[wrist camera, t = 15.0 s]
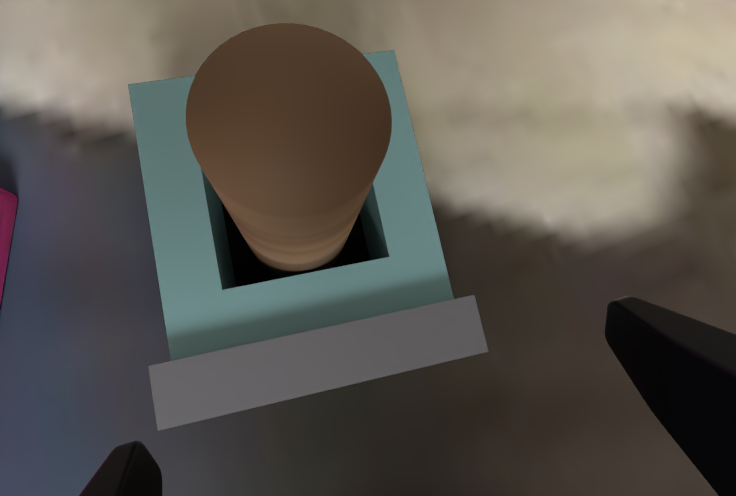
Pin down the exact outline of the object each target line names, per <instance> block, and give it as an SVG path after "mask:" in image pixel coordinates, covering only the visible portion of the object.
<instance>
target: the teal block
mask: <svg viewBox="0 0 736 496" xmlns="http://www.w3.org/2000/svg"><path fill="white" fill-rule="evenodd" d="M362 55H363V56H364V57H365V58H366V59H367V60H368V61H369V62H370V63H371V65H372V66H373V68H374V69H375V70H376V72H377V73H378V75H379V77H380V79H381V81H382V82H383V84H384V87H385V89H386V92H387V95H388V98H389V102H390V107H391V115H392V131H391V138H390V143H389V147H388V150H387V153H386V156H385V158H384V160H383V162H382V165H381V167H380V169H379V171H378V173H377V175H376V178H375V180H374V182H373V184H372V186H371V188H370V191H369V193H368V195H367V197H366V199H365V201H364V204H363V206H362V208H361V210H360V212H359V213H360V218H361V222H362V227H363V232H364V236H365V241H366V245H367V250H368V254H369V259H370V261H366V262H361V263H356V264H351V265H345V266H340V267H335V268H330V269H325V270H320V271H315V272H310V273H305V274H300V275H295V276H290V277H285V278H280V279H275V280H270V281H265V282H260V283H255V284H250V285H245V286H240V287H236V282H235V276H234V270H233V265H232V259H231V253H230V248H229V242H228V237H227V231H226V225H225V220H224V214H223V208H222V203H221V199H220V198H219V196H218V194H217V193H216V191H215V190H214V188H213V186H212V185H211V183H210V181H209V180H208V178H207V176H206V175H205V173H204V171H203V170H202V168H201V167H200V165H199V163H198V161H197V159H196V157H195V155H194V153H193V151H192V148H191V145H190V142H189V139H188V134H187V128H186V104H187V98H188V94H189V91H190V87H191V85H192V82H193V80H194V78H195V76H189V77H181V78H174V79H166V80H158V81H150V82H143V83H135V84H128V87H129V93H130V100H131V106H132V112H133V119H134V125H135V132H136V138H137V145H138V151H139V158H140V164H141V170H142V177H143V183H144V190H145V196H146V203H147V209H148V216H149V222H150V228H151V235H152V241H153V248H154V254H155V261H156V267H157V274H158V280H159V286H160V293H161V299H162V306H163V312H164V319H165V325H166V332H167V338H168V344H169V351H170V357H171V361H174V360H178V359H183V358H187V357H192V356H196V355H201V354H206V353H210V352H215V351H219V350H224V349H229V348H233V347H238V346H242V345H247V344H251V343H256V342H261V341H265V340H270V339H274V338H279V337H284V336H288V335H293V334H297V333H302V332H306V331H311V330H316V329H320V328H325V327H329V326H334V325H338V324H343V323H348V322H352V321H357V320H361V319H366V318H371V317H375V316H380V315H384V314H389V313H393V312H398V311H403V310H407V309H412V308H416V307H421V306H426V305H430V304H435V303H439V302H444V301H448V300H453V299H454V297H453V293H452V289H451V285H450V281H449V276H448V272H447V268H446V264H445V260H444V256H443V252H442V247H441V243H440V239H439V235H438V231H437V227H436V222H435V218H434V214H433V210H432V206H431V202H430V198H429V193H428V189H427V185H426V181H425V177H424V173H423V168H422V164H421V160H420V156H419V152H418V148H417V144H416V139H415V135H414V131H413V127H412V123H411V119H410V115H409V110H408V106H407V102H406V98H405V94H404V90H403V85H402V81H401V77H400V73H399V69H398V65H397V61H396V56H395V52H394V50H392V51H384V52H376V53H368V54H362Z"/></svg>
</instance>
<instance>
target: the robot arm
mask: <svg viewBox="0 0 736 496" xmlns="http://www.w3.org/2000/svg"><path fill="white" fill-rule="evenodd" d="M605 337H606V340H607V343H608V344H609V346H610V348H611V349H612V351H613V352H614V354H615V355H616V357H617V359H618V360H619V362H620V363H621V365H622V366H623V368H624V369H625V371H626V373H627V374H628V376H629V377H630V379H631V380H632V382H633V383H634V385H635V387H636V388H637V390H638V391H639V393H640V394H641V396H642V397H643V399H644V400H645V402H646V403H647V405H648V406H649V408H650V409H651V411H652V412H653V413H654V415H655V416H656V417H657V419H658V420H659V421H660V422H661V424H662V425H663V426H664V428H665V429H666V430H667V431H668V433H669V434H670V435H671V436H672V438H673V439H674V440H675V441H676V443H677V444H678V445H679V446H680V448H681V449H682V450H683V451H684V453H685V454H686V455H687V456H688V458H689V459H690V460H691V461H692V463H693V464H694V465H695V466H696V468H697V469H698V470H699V471H700V473H701V474H702V475H703V476H704V478H705V479H706V480H707V481H708V483H709V484H710V485H711V486H712V488H713V489H714V490H715V491H716V493H717V494H718V495H719V496H736V334H734V333H731V332H728V331H726V330H723V329H720V328H718V327H715V326H712V325H709V324H707V323H704V322H701V321H699V320H696V319H693V318H691V317H688V316H685V315H682V314H680V313H677V312H674V311H672V310H669V309H666V308H664V307H661V306H658V305H656V304H653V303H650V302H647V301H645V300H642V299H639V298H637V297H633V296H625V297H622V298H619V299H615V300H612V301H610V303H609V304H608V307H607V315H606V324H605ZM79 496H162V474H161V470H160V468H159V466H158V464H157V463H156V461H155V460H154V458H153V457H152V455H151V454H150V452H149V451H148V450H147V448H146V447H145V445H144V444H143V443H142V442H140V441H134V442H130V443H127V444H124V445H120V446H118V447H116V448H115V449H114V450H113V451H112V452H111V453H110V454H109V456H108V457H107V459H106V460H105V461H104V463H103V464H102V465H101V467H100V468H99V469H98V471H97V472H96V473H95V475H94V476H93V477H92V479H91V480H90V482H89V483H88V484H87V486H86V487H85V488H84V490H83V491H82V492H81V494H80V495H79Z"/></svg>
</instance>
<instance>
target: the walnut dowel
mask: <svg viewBox="0 0 736 496" xmlns="http://www.w3.org/2000/svg"><path fill="white" fill-rule="evenodd" d="M186 128H187V134H188V139H189V142H190V145H191V148H192V151H193V153H194V155H195V157H196V159H197V161H198V163H199V165H200V167H201V168H202V170H203V171H204V173H205V175H206V176H207V178H208V180H209V181H210V183H211V185H212V186H213V188H214V190H215V191H216V193H217V194H218V196H219V198H220V199H221V201H222V203H223V204H224V206H225V208H226V209H227V211H228V212H229V214H230V216H231V217H232V219H233V221H234V222H235V224H236V226H237V227H238V229H239V230H240V232H241V234H242V235H243V237H244V239H245V240H246V242H247V244H248V245H249V247H250V249H251V250H252V252H253V253H254V255H255V257H256V258H257V260H258V262H259V263H260V265H261V266H262V267H263V269H264V270H265V271H266V272H267V273H268V274H270V275H271V276H273V277H274V278H276V279H280V278H285V277H290V276H295V275H300V274H305V273H310V272H315V271H320V270H325V269H330V268H332V267H333V266H334V265H335V263H336V262H337V260H338V258H339V255H340V253H341V251H342V249H343V247H344V245H345V242H346V240H347V238H348V236H349V234H350V232H351V229H352V227H353V225H354V223H355V221H356V219H357V216H358V214H359V212H360V210H361V208H362V206H363V204H364V201H365V199H366V197H367V195H368V193H369V191H370V188H371V186H372V184H373V182H374V180H375V178H376V175H377V173H378V171H379V169H380V167H381V165H382V162H383V160H384V158H385V156H386V153H387V150H388V147H389V143H390V138H391V131H392V115H391V107H390V102H389V98H388V95H387V92H386V89H385V87H384V84H383V82H382V81H381V79H380V77H379V75H378V73H377V72H376V70H375V69H374V68H373V66H372V65H371V63H370V62H369V61H368V60H367V59H366V58H365V57H364V56H363V55H362V54H361V53H360V52H359V51H358V50H357V49H356V48H354V47H353V46H352V45H350V44H349V43H347V42H346V41H344V40H343V39H341V38H339V37H337V36H335V35H333V34H332V33H329V32H327V31H324V30H321V29H318V28H315V27H310V26H306V25H299V24H272V25H265V26H261V27H256V28H253V29H250V30H247V31H245V32H242V33H240V34H238V35H236V36H234V37H232V38H230V39H229V40H228V41H226V42H225V43H223V44H222V45H220V46H219V47H218V48H217V49H216V50H215V51H214V52H213V53H212V54H210V56H209V57H208V58H207V59H206V60H205V62H204V63H203V64H202V66H201V67H200V69H199V71H198V72H197V74H196V75H195V78H194V80H193V82H192V85H191V87H190V91H189V94H188V98H187V104H186Z"/></svg>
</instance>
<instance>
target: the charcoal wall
mask: <svg viewBox="0 0 736 496" xmlns="http://www.w3.org/2000/svg"><path fill="white" fill-rule="evenodd" d="M485 352H488V348H487V344H486V340H485V336H484V332H483V328H482V324H481V320H480V316H479V312H478V308H477V303H476V299H475V295H471V296H467V297H462V298H458V299H453V300H448V301H444V302H439V303H435V304H430V305H426V306H421V307H416V308H412V309H407V310H403V311H398V312H393V313H389V314H384V315H380V316H375V317H371V318H366V319H361V320H357V321H352V322H348V323H343V324H338V325H334V326H329V327H325V328H320V329H316V330H311V331H306V332H302V333H297V334H293V335H288V336H284V337H279V338H274V339H270V340H265V341H261V342H256V343H251V344H247V345H242V346H238V347H233V348H229V349H224V350H219V351H215V352H210V353H206V354H201V355H196V356H192V357H187V358H183V359H178V360H174V361H169V362H164V363H160V364H155V365H151V366H148V368H149V375H150V382H151V389H152V395H153V402H154V409H155V416H156V422H157V429H158V431H159V430H163V429H167V428H172V427H176V426H180V425H184V424H188V423H192V422H197V421H201V420H205V419H209V418H213V417H218V416H222V415H226V414H230V413H234V412H238V411H243V410H247V409H251V408H255V407H259V406H263V405H268V404H272V403H276V402H280V401H284V400H289V399H293V398H297V397H301V396H305V395H309V394H314V393H318V392H322V391H326V390H330V389H334V388H339V387H343V386H347V385H351V384H355V383H360V382H364V381H368V380H372V379H376V378H380V377H385V376H389V375H393V374H397V373H401V372H405V371H410V370H414V369H418V368H422V367H426V366H430V365H435V364H439V363H443V362H447V361H451V360H456V359H460V358H464V357H468V356H472V355H476V354H481V353H485Z"/></svg>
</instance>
